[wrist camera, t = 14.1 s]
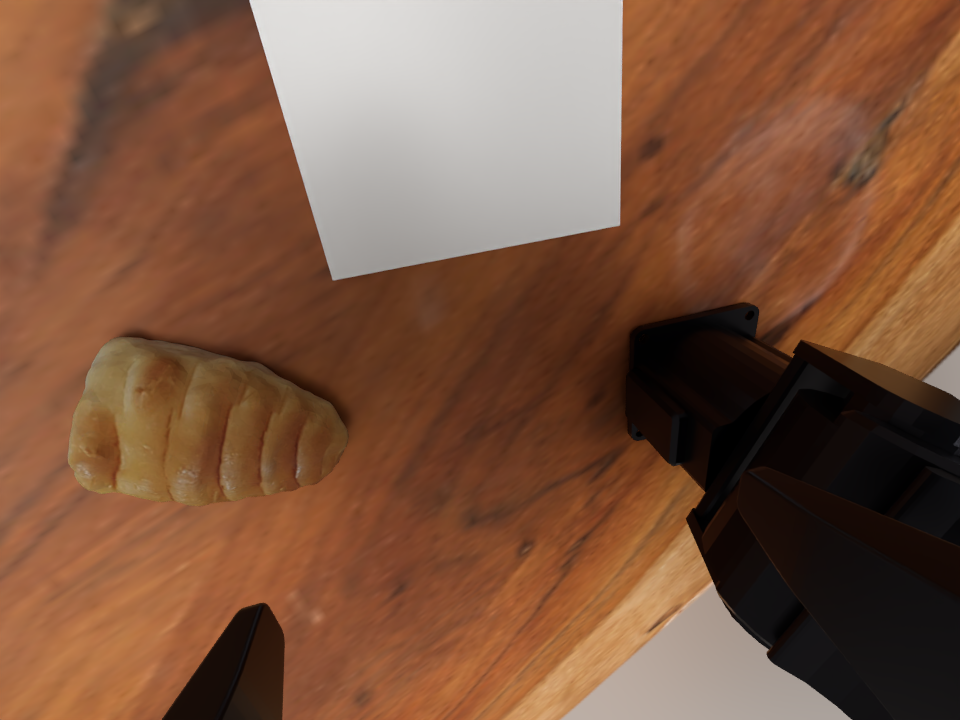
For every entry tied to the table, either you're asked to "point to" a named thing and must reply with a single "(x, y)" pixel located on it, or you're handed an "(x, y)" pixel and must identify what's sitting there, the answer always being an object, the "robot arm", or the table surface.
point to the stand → (448, 122)
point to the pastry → (197, 426)
